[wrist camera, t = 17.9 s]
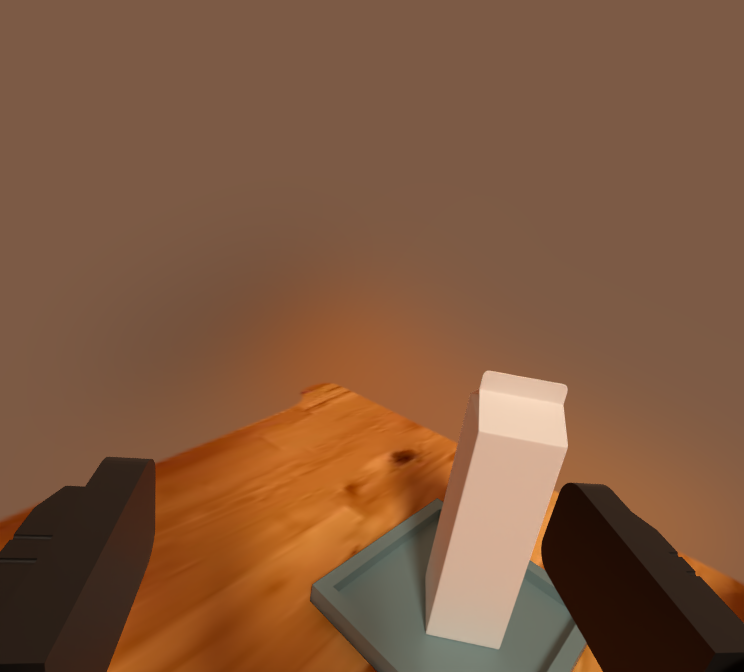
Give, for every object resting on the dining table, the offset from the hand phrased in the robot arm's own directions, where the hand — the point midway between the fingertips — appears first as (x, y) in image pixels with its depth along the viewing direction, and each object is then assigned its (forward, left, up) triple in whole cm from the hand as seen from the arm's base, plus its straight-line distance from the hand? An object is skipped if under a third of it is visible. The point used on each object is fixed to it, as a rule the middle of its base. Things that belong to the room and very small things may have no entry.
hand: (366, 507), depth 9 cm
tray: (-7, +25, -28) cm, 38 cm away
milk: (-7, +24, -28) cm, 38 cm away
